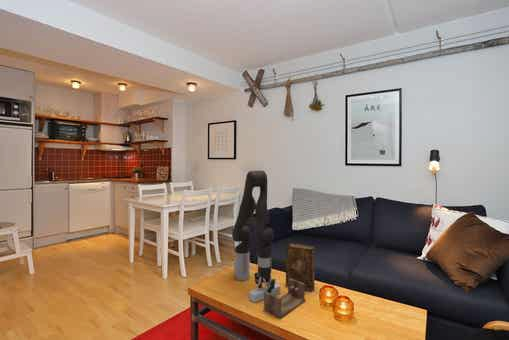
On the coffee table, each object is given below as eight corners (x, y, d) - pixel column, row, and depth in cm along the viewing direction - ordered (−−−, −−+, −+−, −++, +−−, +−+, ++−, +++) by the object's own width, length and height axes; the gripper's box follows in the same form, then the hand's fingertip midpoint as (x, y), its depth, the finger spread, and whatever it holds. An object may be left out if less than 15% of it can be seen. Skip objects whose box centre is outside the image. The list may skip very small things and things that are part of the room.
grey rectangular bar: (248, 298, 146) (248, 291, 146) (274, 289, 156) (274, 282, 156) (254, 302, 142) (253, 295, 142) (280, 292, 152) (280, 286, 152)
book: (315, 288, 158) (315, 246, 156) (312, 292, 153) (312, 249, 152) (289, 282, 165) (288, 242, 164) (285, 286, 160) (285, 245, 159)
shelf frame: (263, 310, 135) (263, 291, 135) (288, 294, 151) (288, 277, 151) (280, 319, 128) (280, 299, 127) (305, 301, 144) (305, 283, 143)
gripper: (250, 262, 150) (250, 292, 151) (270, 270, 141) (270, 301, 141) (259, 259, 156) (259, 287, 157) (278, 265, 146) (278, 296, 147)
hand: (264, 293), depth 149 cm, fingers closed on grey rectangular bar, 5 cm apart
